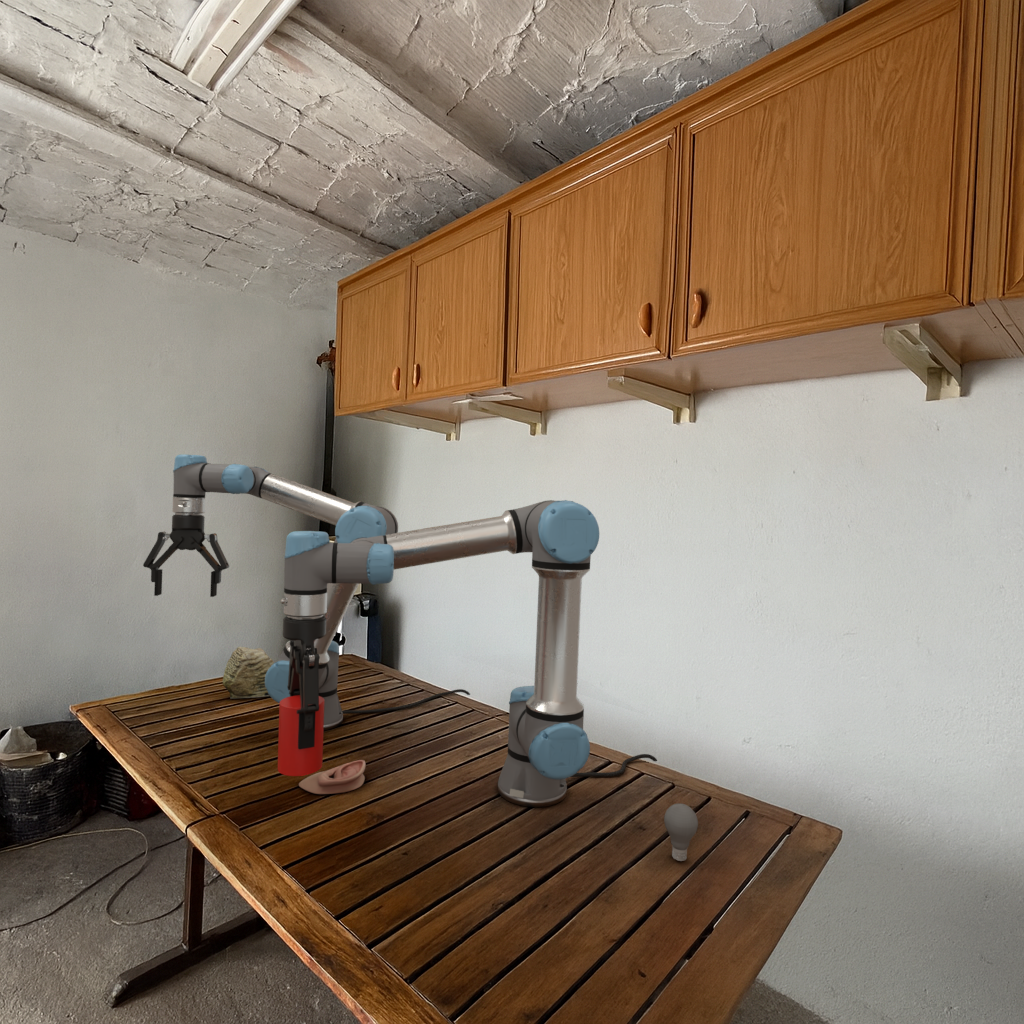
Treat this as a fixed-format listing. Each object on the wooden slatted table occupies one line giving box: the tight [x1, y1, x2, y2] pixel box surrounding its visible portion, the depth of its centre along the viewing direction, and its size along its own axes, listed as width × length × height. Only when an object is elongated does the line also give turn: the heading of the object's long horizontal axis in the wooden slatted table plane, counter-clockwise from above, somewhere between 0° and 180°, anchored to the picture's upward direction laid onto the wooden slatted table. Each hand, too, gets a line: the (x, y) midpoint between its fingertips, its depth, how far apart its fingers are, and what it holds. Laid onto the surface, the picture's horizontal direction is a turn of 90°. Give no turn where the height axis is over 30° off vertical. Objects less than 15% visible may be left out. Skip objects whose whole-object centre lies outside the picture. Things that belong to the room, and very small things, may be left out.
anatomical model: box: [298, 759, 367, 795], centre depth 140 cm, size 13×4×12 cm
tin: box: [277, 695, 325, 777], centre depth 116 cm, size 8×8×12 cm
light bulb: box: [663, 802, 699, 862], centre depth 116 cm, size 6×6×10 cm
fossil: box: [222, 646, 275, 699], centre depth 198 cm, size 9×18×15 cm, turn 132°
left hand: (185, 595), depth 165 cm, fingers open, 13 cm apart
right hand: (301, 738), depth 116 cm, fingers closed on tin, 8 cm apart
